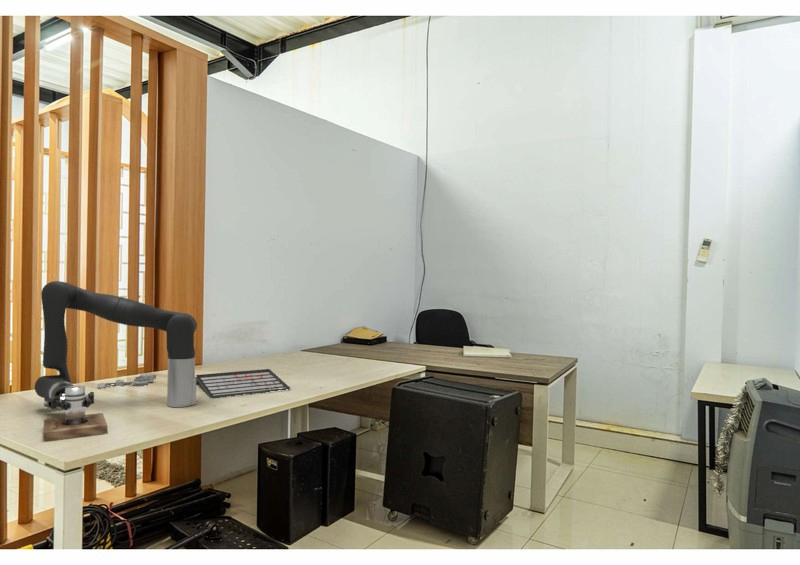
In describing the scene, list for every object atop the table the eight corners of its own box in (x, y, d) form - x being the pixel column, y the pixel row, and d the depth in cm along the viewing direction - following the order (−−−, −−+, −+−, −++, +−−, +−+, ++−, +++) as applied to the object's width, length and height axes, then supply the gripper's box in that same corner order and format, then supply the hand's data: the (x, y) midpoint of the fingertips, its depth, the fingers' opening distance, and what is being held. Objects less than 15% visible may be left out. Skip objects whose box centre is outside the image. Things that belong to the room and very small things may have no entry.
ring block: (102, 420, 176) (102, 412, 176) (107, 433, 162) (107, 425, 162) (43, 427, 167) (43, 419, 167) (43, 441, 154) (43, 432, 154)
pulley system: (171, 382, 240) (148, 376, 247) (172, 372, 240) (149, 366, 247) (115, 396, 216) (91, 390, 223) (115, 385, 216) (91, 379, 222)
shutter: (288, 403, 226) (264, 380, 252) (290, 387, 225) (266, 365, 252) (210, 409, 209) (192, 383, 235) (211, 391, 208) (194, 367, 234)
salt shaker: (84, 422, 168) (84, 384, 168) (85, 427, 164) (85, 388, 164) (64, 425, 165) (64, 386, 165) (65, 429, 161) (65, 389, 161)
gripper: (38, 385, 170) (49, 396, 158) (89, 380, 180) (103, 389, 167) (37, 409, 170) (49, 421, 158) (89, 402, 180) (103, 413, 168)
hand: (77, 405), depth 163 cm, fingers closed on salt shaker, 5 cm apart
